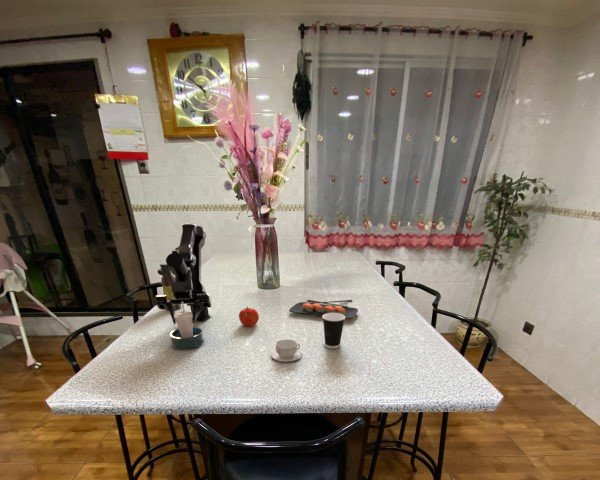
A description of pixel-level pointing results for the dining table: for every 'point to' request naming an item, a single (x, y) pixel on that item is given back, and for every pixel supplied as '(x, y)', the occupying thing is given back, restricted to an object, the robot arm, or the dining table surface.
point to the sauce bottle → (168, 283)
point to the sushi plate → (323, 309)
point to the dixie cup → (333, 329)
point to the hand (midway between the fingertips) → (184, 323)
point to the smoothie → (184, 323)
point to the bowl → (187, 339)
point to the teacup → (286, 350)
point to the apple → (248, 317)
